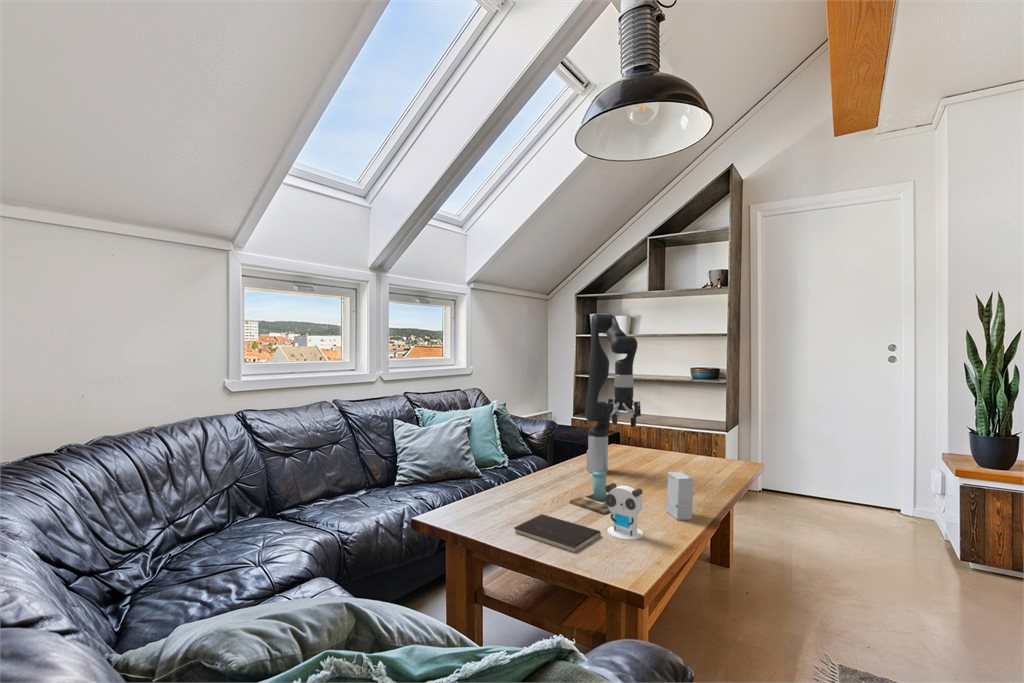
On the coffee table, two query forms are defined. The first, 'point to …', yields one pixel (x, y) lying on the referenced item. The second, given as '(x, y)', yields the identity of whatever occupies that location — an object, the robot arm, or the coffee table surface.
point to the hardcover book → (557, 532)
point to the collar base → (591, 504)
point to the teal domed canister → (599, 485)
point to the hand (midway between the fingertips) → (623, 425)
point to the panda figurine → (624, 511)
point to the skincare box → (679, 495)
